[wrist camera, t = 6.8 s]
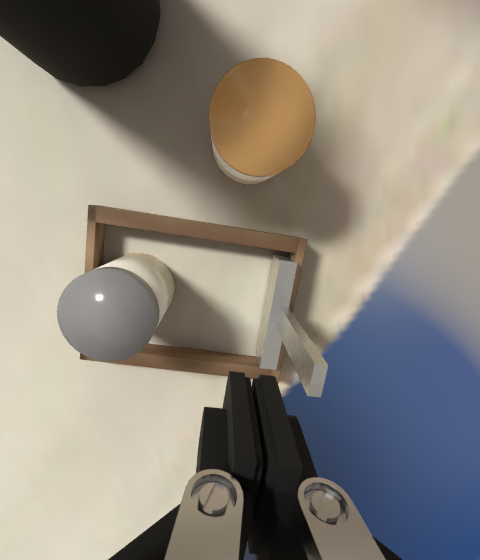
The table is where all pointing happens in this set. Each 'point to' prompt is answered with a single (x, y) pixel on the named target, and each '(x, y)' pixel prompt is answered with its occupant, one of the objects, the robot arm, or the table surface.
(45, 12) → the coffee jar
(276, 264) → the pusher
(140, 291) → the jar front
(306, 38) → the table surface
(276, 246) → the brown wooden frame
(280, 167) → the jar
